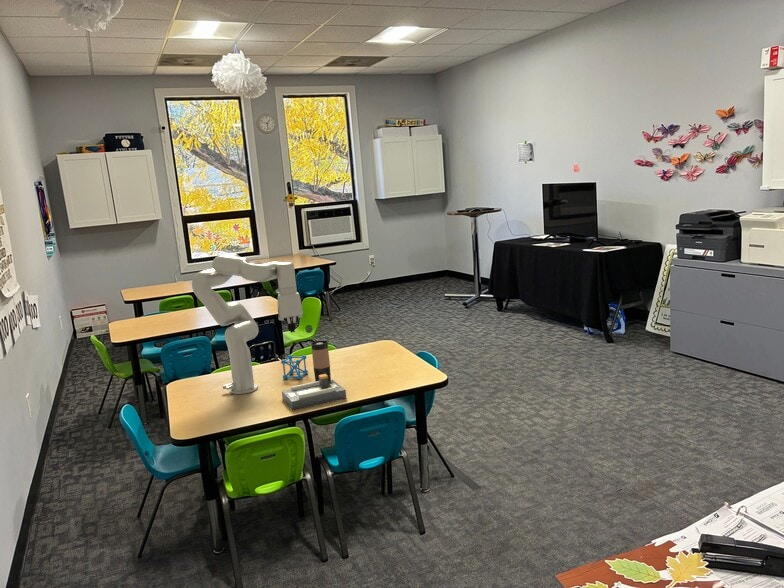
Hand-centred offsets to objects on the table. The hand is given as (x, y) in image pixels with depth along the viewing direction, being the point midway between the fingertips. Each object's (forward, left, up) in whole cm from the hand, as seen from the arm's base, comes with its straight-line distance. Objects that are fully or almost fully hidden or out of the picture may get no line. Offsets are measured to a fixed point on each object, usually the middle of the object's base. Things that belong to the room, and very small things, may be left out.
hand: (292, 331), depth 260 cm
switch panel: (+4, -10, -29) cm, 31 cm away
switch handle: (+9, -10, -25) cm, 28 cm away
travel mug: (+14, +7, -29) cm, 33 cm away
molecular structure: (+6, +26, -29) cm, 40 cm away
